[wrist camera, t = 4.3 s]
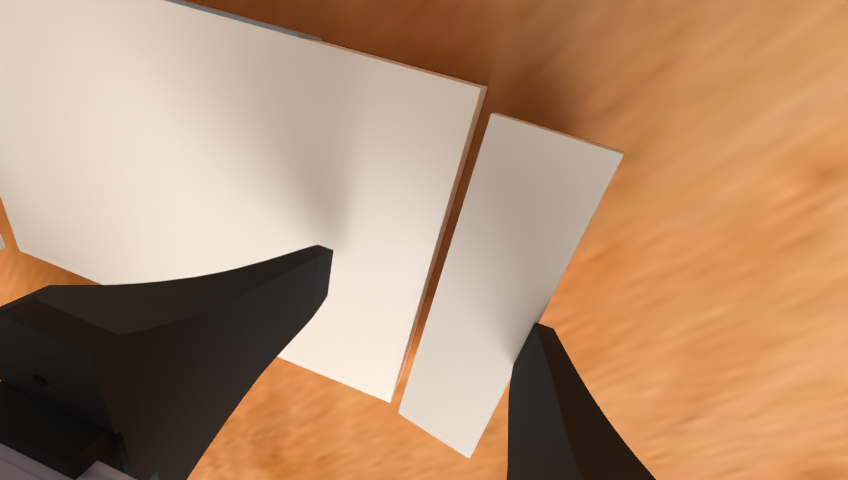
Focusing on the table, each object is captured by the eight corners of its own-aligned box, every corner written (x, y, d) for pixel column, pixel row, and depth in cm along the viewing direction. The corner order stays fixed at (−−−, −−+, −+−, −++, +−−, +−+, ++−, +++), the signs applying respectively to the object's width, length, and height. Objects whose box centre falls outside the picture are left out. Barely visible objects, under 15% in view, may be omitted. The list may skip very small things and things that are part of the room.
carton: (403, 371, 18) (390, 402, 17) (61, 236, 21) (19, 250, 19) (488, 83, 12) (481, 84, 10) (-22, -57, 15) (-96, -75, 13)
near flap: (397, 412, 16) (422, 377, 18) (469, 459, 15) (486, 415, 17) (491, 113, 10) (511, 111, 12) (624, 154, 9) (621, 144, 11)
